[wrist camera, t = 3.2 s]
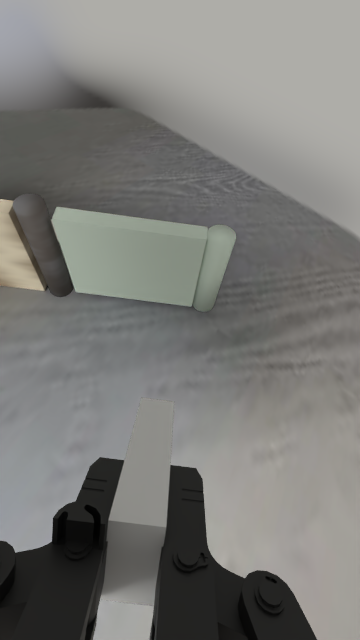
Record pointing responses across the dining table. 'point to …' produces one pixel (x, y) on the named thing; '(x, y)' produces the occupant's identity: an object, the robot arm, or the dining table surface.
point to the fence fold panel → (144, 257)
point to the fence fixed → (31, 247)
